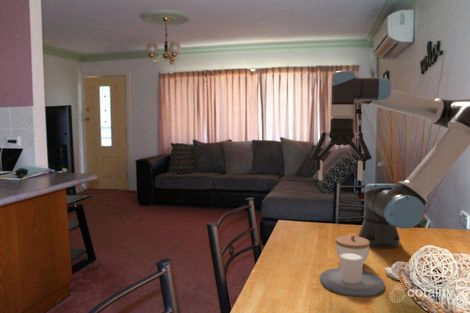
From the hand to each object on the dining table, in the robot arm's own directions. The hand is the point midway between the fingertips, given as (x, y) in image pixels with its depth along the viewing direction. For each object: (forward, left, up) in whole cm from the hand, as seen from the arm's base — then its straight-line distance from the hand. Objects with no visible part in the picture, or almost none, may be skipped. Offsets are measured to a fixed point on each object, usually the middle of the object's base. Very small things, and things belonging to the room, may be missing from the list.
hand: (339, 180), depth 136 cm
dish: (+2, +23, -27) cm, 35 cm away
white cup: (+2, +23, -26) cm, 35 cm away
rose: (-15, +18, -27) cm, 36 cm away
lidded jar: (-3, +7, -27) cm, 28 cm away
